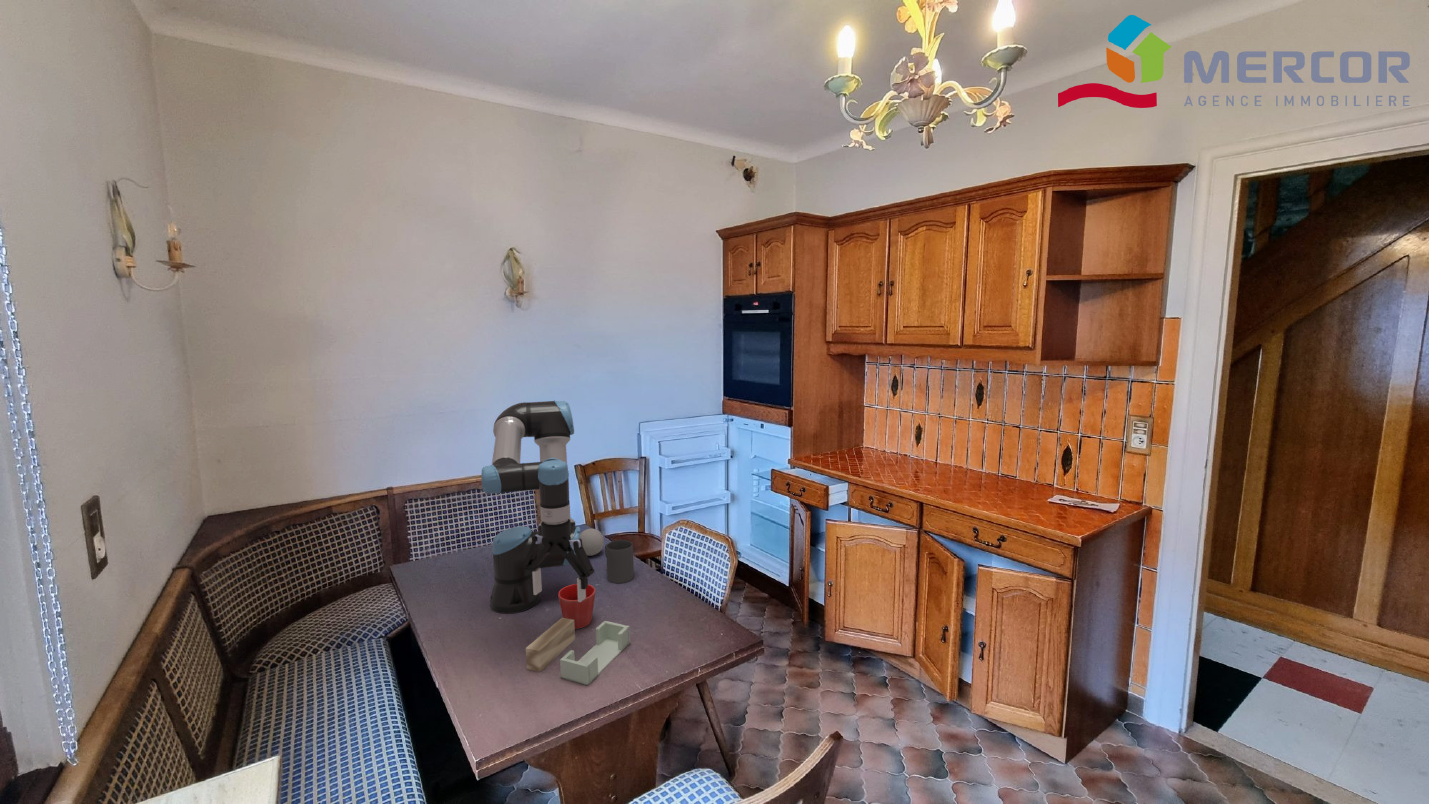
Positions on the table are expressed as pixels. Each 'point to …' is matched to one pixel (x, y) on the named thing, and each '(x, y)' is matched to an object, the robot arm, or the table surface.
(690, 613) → the table surface
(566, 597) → the flower pot
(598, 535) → the ball
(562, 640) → the wooden block
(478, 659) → the table surface
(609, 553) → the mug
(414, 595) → the table surface
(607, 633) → the green tray
